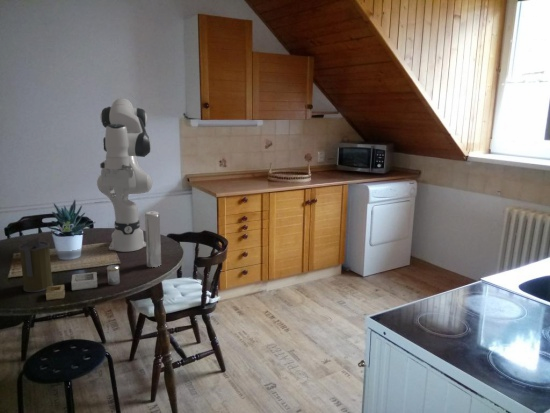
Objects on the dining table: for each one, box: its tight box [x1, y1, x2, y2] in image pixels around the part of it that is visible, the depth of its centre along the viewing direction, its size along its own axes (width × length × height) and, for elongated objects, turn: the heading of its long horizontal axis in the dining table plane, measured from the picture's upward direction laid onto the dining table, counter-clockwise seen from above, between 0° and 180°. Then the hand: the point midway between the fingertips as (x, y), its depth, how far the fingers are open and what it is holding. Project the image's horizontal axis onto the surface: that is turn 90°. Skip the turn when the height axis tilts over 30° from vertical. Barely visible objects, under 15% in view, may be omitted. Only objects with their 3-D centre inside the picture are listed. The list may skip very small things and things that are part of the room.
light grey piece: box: [144, 210, 162, 268], centre depth 192 cm, size 6×6×25 cm
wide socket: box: [71, 271, 98, 291], centre depth 172 cm, size 9×9×3 cm
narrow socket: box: [45, 284, 66, 301], centre depth 161 cm, size 6×6×3 cm
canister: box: [18, 236, 54, 293], centre depth 166 cm, size 11×10×20 cm
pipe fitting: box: [106, 264, 121, 286], centre depth 174 cm, size 5×5×7 cm
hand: (119, 198), depth 173 cm, fingers open, 8 cm apart
